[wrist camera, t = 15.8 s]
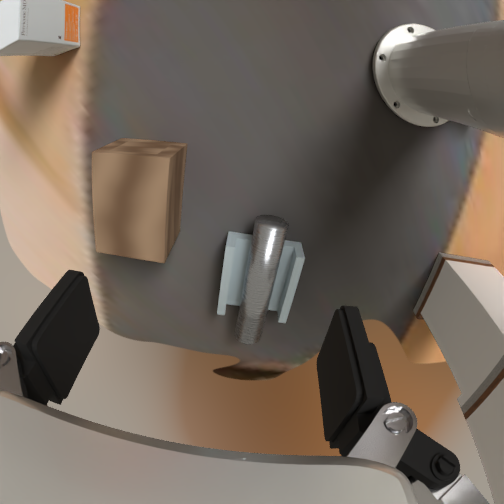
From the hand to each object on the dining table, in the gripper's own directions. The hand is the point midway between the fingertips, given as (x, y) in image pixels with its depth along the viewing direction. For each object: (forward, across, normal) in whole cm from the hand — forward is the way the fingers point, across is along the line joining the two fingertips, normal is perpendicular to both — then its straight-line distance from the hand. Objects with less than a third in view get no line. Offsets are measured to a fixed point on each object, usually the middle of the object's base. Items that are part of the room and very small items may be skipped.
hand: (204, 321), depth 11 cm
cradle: (+26, -3, +15) cm, 30 cm away
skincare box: (+26, +24, -16) cm, 38 cm away
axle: (+24, -3, +15) cm, 28 cm away
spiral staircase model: (+27, -34, +14) cm, 46 cm away
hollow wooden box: (+26, +11, +5) cm, 28 cm away
